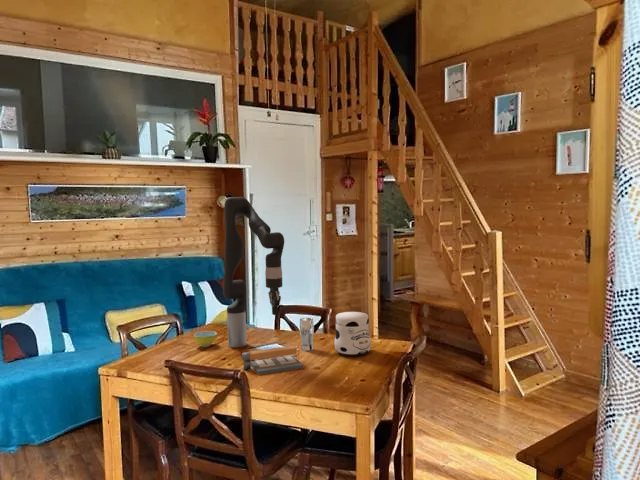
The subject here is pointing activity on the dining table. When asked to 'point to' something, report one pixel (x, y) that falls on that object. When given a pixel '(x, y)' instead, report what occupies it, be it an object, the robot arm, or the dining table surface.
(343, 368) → the dining table surface
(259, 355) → the swing bar
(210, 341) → the bowl
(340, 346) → the milk container
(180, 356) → the dining table surface
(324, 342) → the dining table surface
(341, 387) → the dining table surface
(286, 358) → the label board
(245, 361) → the post
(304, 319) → the beer glass
